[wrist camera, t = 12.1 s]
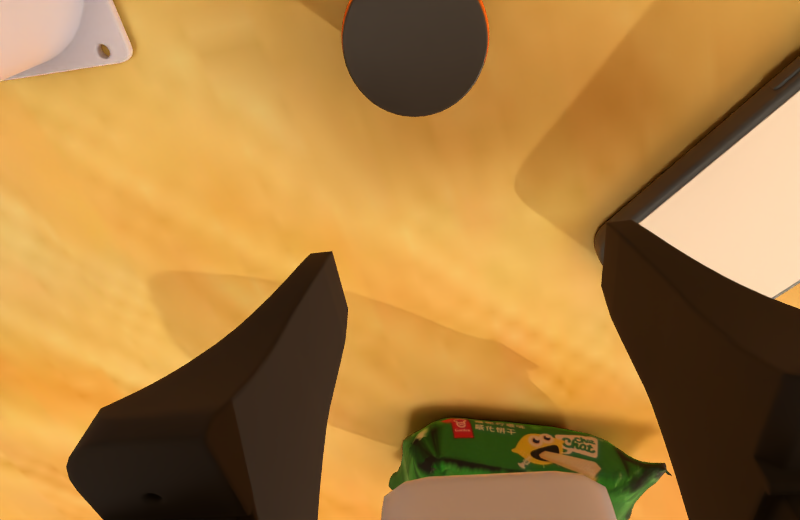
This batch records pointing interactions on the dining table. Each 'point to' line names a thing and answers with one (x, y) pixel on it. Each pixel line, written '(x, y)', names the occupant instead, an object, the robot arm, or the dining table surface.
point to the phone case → (735, 193)
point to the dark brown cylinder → (415, 51)
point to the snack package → (524, 456)
